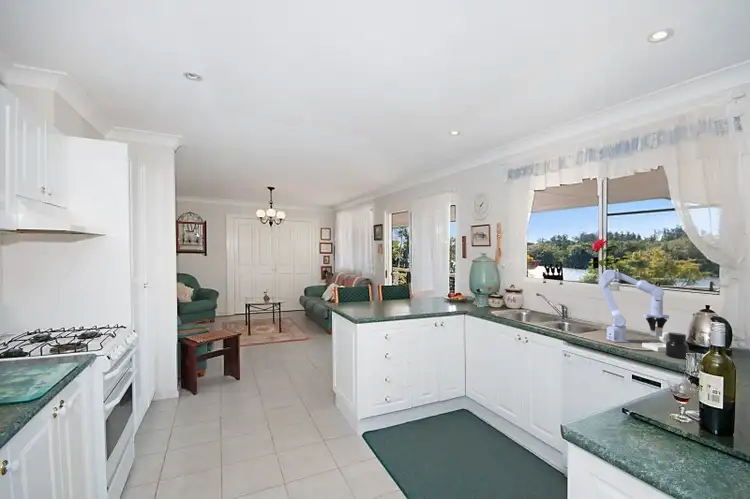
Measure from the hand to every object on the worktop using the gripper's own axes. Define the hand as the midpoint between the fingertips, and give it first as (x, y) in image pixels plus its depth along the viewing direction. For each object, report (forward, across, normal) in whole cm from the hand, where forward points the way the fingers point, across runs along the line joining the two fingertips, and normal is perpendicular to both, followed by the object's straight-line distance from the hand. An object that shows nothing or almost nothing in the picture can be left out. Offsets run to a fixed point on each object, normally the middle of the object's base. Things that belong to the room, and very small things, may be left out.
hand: (656, 330), depth 205 cm
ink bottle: (+9, -12, -24) cm, 28 cm away
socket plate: (+9, -5, -9) cm, 14 cm away
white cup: (+6, +13, +7) cm, 16 cm away
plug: (+3, 0, 0) cm, 3 cm away
